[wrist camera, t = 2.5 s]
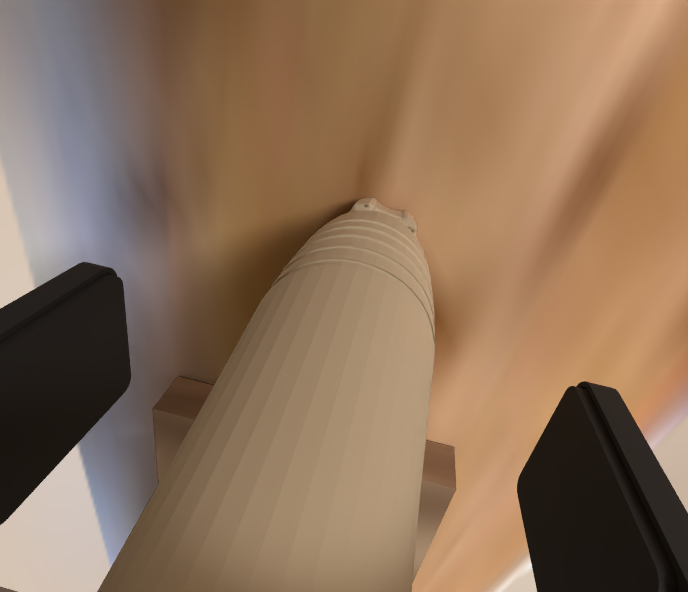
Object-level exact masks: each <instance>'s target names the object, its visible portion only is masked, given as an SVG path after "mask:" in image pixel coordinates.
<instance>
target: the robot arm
mask: <svg viewBox="0 0 688 592" xmlns="http://www.w3.org/2000/svg"><path fill="white" fill-rule="evenodd" d="M130 379H131V370H130V358H129V347H128V335H127V324H126V312H125V301H124V289H123V282H122V280H121V278H119V277H117V274H116V272H115V271H114V270H113V269H112V268H108V267H104V266H100V265H96V264H92V263H88V262H82V263H80V264H78V265H76V266H74V267H72V268H71V269H69V270H67V271H65V272H64V273H62V274H60V275H58V276H57V277H55V278H53V279H51V280H50V281H48V282H46V283H44V284H43V285H41V286H39V287H37V288H36V289H34V290H32V291H30V292H29V293H27V294H25V295H24V296H22V297H20V298H18V299H17V300H15V301H13V302H11V303H10V304H8V305H6V306H4V307H3V308H1V309H0V525H1V524H2V523H4V522H5V521H6V520H7V519H8V518H9V517H10V515H12V513H13V512H14V511H15V510H16V509H17V508H18V507H19V506H20V505H21V504H22V503H23V501H24V500H25V499H26V498H27V497H28V496H29V495H30V494H31V493H32V492H33V491H34V490H35V488H37V486H38V485H39V484H40V483H41V482H42V481H43V480H44V479H45V478H46V477H47V475H49V473H50V472H51V471H52V470H53V469H54V468H55V467H56V466H57V465H58V464H59V463H60V462H61V460H62V459H63V458H64V457H65V456H66V455H67V454H68V453H69V451H71V450H72V448H74V446H75V445H76V444H77V443H78V442H79V441H80V440H81V439H82V438H83V437H84V436H85V435H86V433H87V432H88V431H89V430H90V429H91V428H92V427H93V426H94V425H95V424H96V423H97V422H98V421H99V419H100V418H101V417H102V416H103V415H104V414H105V413H106V412H107V411H108V410H109V409H110V408H111V406H112V405H113V404H114V403H115V402H116V401H117V400H118V399H119V398H120V397H121V396H122V395H123V393H124V392H125V391H126V390H127V388H128V386H129V383H130ZM517 493H518V499H519V504H520V509H521V514H522V519H523V524H524V528H525V533H526V538H527V543H528V548H529V553H530V558H531V563H532V568H533V573H534V578H535V582H536V588H537V592H688V513H687V511H686V509H685V508H684V506H683V504H682V502H681V501H680V499H679V497H678V496H677V494H676V492H675V490H674V488H673V487H672V485H671V483H670V482H669V480H668V478H667V476H666V474H665V473H664V471H663V469H662V468H661V466H660V464H659V462H658V461H657V459H656V457H655V455H654V453H653V452H652V450H651V448H650V446H649V445H648V443H647V441H646V440H645V438H644V436H643V434H642V433H641V431H640V429H639V427H638V426H637V424H636V422H635V420H634V419H633V417H632V415H631V413H630V412H629V410H628V408H627V406H626V405H625V403H624V401H623V399H622V398H621V396H620V394H619V393H618V391H617V390H616V389H613V388H610V387H606V386H602V385H598V384H593V383H589V382H585V381H584V382H581V383H579V384H578V385H577V386H576V387H574V386H570V387H569V388H568V389H567V390H566V391H565V393H564V395H563V397H562V399H561V401H560V402H559V404H558V406H557V408H556V410H555V412H554V413H553V415H552V417H551V419H550V421H549V423H548V424H547V426H546V428H545V430H544V432H543V434H542V435H541V437H540V439H539V441H538V443H537V445H536V446H535V448H534V450H533V452H532V454H531V456H530V457H529V459H528V461H527V463H526V465H525V467H524V468H523V470H522V472H521V474H520V476H519V479H518V484H517ZM0 592H17V591H13V590H10V589H6V588H3V587H0Z"/></svg>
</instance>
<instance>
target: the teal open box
mask: <svg viewBox="0 0 688 592" xmlns="http://www.w3.org/2000/svg"><path fill="white" fill-rule="evenodd" d="M213 387H214V385H210V384H206V383H202V382H199V381H195V380H191V379H187V378H183V377H179V376H178V377H177V378H176V379H175V381H174V382H173V383H172V385H171V386H170V387H169V388H168V390H167V391H166V392H165V393H164V395H163V396H162V397H161V399H160V400H159V401H158V402H157V404H156V405H155V406H154V407H153V422H154V435H155V448H156V460H157V473H158V484H159V482H160V481H161V479H162V477H163V475H164V474H165V472H166V470H167V468H168V467H169V465H170V463H171V461H172V460H173V458H174V456H175V454H176V453H177V451H178V449H179V447H180V446H181V444H182V442H183V440H184V438H185V437H186V435H187V433H188V431H189V430H190V428H191V426H192V424H193V423H194V421H195V419H196V417H197V415H198V414H199V412H200V410H201V408H202V406H203V405H204V403H205V401H206V399H207V397H208V396H209V394H210V392H211V390H212V388H213ZM455 491H456V474H455V453H454V447H451V446H447V445H443V444H439V443H436V442H432V441H428V440H426V443H425V453H424V463H423V472H422V482H421V492H420V502H419V513H418V524H417V535H416V546H415V557H414V568H413V579H412V583H413V581H414V578H415V576H416V574H417V572H418V570H419V568H420V566H421V563H422V561H423V559H424V557H425V555H426V553H427V551H428V548H429V546H430V544H431V542H432V540H433V538H434V536H435V533H436V531H437V529H438V527H439V525H440V523H441V521H442V518H443V516H444V514H445V512H446V510H447V508H448V506H449V503H450V501H451V499H452V497H453V495H454V493H455Z"/></svg>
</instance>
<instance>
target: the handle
mask: <svg viewBox="0 0 688 592" xmlns="http://www.w3.org/2000/svg"><path fill="white" fill-rule="evenodd" d="M416 233H417V224H416V221H415V219H414V218H413V217H412V215H411V214H410V213H409V212H408V211H407V210H402V211H398V210H392V209H389V208H387V207H385V206H383V205H381V204H380V203H378V202H377V200H376V199H375V198H362V199H360V200H358V201H357V202H356V203H355V204H354V206H353V207H352V209H351V210H350V211H349V212H348V213H346V214H342V215H340V216H338V217H337V218H335V219H333V220H332V221H330V222H328V223H327V224H325V225H324V226H323V227H322V228H320V229H319V230H318V231H317V232H316V233H315V234H314V235H312V236H311V237H310V239H309V240H308V241H307V242H306V243H305V244H304V245H303V246H302V247H301V249H300V250H299V251H298V252H297V253H296V254H295V255H294V257H293V258H292V259H291V260H290V261H289V262H288V264H287V265H286V266H285V268H284V269H283V270H282V272H281V273H280V275H279V276H278V278H277V279H276V280H275V281H274V283H273V284H272V286H271V287H270V288H269V290H268V292H267V293H266V294H265V296H264V297H263V299H262V300H261V302H260V304H259V305H258V307H257V309H256V311H255V313H254V314H253V316H252V318H251V320H250V322H249V323H248V325H247V327H246V329H245V331H244V332H243V334H242V336H241V338H240V340H239V341H238V343H237V345H236V347H235V349H234V350H233V352H232V354H231V356H230V358H229V359H228V361H227V363H226V365H225V367H224V368H223V370H222V372H221V374H220V376H219V378H218V379H217V381H216V383H215V385H214V387H213V388H212V390H211V392H210V394H209V396H208V397H207V399H206V401H205V403H204V405H203V406H202V408H201V410H200V412H199V414H198V415H197V417H196V419H195V421H194V423H193V424H192V426H191V428H190V430H189V431H188V433H187V435H186V437H185V438H184V440H183V442H182V444H181V446H180V447H179V449H178V451H177V453H176V454H175V456H174V458H173V460H172V461H171V463H170V465H169V467H168V468H167V470H166V472H165V474H164V475H163V477H162V479H161V481H160V482H159V484H158V486H157V488H156V489H155V491H154V493H153V495H152V496H151V498H150V500H149V502H148V504H147V505H146V507H145V509H144V511H143V512H142V514H141V516H140V518H139V519H138V521H137V523H136V525H135V526H134V528H133V530H132V532H131V533H130V535H129V537H128V539H127V540H126V542H125V544H124V546H123V547H122V549H121V551H120V553H119V555H118V556H117V558H116V560H115V562H114V563H113V565H112V567H111V569H110V571H109V572H108V574H107V576H106V577H105V579H104V581H103V583H102V585H101V586H100V588H99V590H98V591H97V592H411V590H412V579H413V568H414V557H415V546H416V535H417V524H418V513H419V502H420V492H421V482H422V472H423V463H424V453H425V443H426V433H427V424H428V414H429V404H430V395H431V385H432V375H433V366H434V351H435V347H434V341H435V331H434V303H433V295H432V286H431V279H430V272H429V268H428V264H427V260H426V257H425V254H424V252H423V249H422V247H421V245H420V243H419V241H418V239H417V238H416Z"/></svg>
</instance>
